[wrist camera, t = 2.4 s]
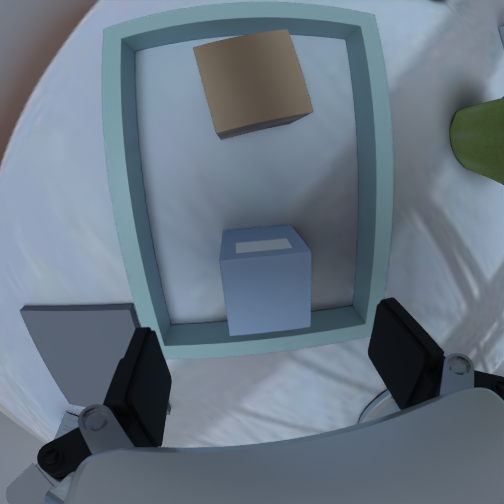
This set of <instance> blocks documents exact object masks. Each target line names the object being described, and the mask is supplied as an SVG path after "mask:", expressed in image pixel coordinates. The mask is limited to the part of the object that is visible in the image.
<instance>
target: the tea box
mask: <svg viewBox="0 0 504 504" xmlns="http://www.w3.org/2000/svg"><path fill="white" fill-rule="evenodd" d="M499 32H500V36H501V40H502V43H503V47H504V26H501V27H499Z"/></svg>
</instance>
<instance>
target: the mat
mask: <svg viewBox="0 0 504 504" xmlns="http://www.w3.org/2000/svg"><path fill="white" fill-rule="evenodd" d="M20 313H21V315H22V318H23V320H24V322H25V324H26V327H27V329H28V331H29V333H30V335H31V337H32V339H33V342H34V344H35V346H36V348H37V349H38V351H39V353H40V355H41V357H42V359H43V361H44V363H45V364H46V366H47V368H48V370H49V372H50V373H51V375H52V377H53V378H54V380H55V382H56V383H57V385H58V387H59V388H60V390H61V391H62V393H63V394H64V396H65V398H66V399H67V401H68V402H69V404H72V405H78V406H83V407H88V406H91V405H93V404H101V405H103V402H104V399H105V397H106V394H107V391H108V388H109V386H110V383H111V381H112V378H113V375H114V373H115V370H116V368H117V365H118V363H119V361H120V359H122V358H124V356H125V353H126V351H127V348H128V346H129V343H130V341H131V338H132V336H133V334H134V331H135V329H136V328H137V327H140V326H139V323H138V319H137V316H136V313H135V310H134V306H133V304H115V305H84V306H24V307H23V308H22V309H21V310H20ZM170 411H171V407H170V405H169V403H168V407H167V414H166V415H170Z"/></svg>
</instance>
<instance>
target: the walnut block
mask: <svg viewBox="0 0 504 504" xmlns="http://www.w3.org/2000/svg"><path fill="white" fill-rule="evenodd" d="M193 50H194V54H195V57H196V61H197V65H198V68H199V72H200V76H201V80H202V83H203V87H204V91H205V94H206V98H207V102H208V105H209V109H210V113H211V116H212V120H213V124H214V127H215V131H216V134H217V135H218V136H219V138H220V139H221V140H222V139H226V138H229V137H233V136H237V135H241V134H245V133H249V132H253V131H257V130H262V129H266V128H271V127H275V126H280V125H285V124H290V123H292V122H294V121H296V120H298V119H300V118H302V117H304V116H306V115H308V114H310V113H312V112H313V109H312V105H311V102H310V98H309V95H308V91H307V88H306V84H305V81H304V77H303V74H302V71H301V68H300V64H299V61H298V58H297V55H296V52H295V49H294V46H293V43H292V40H291V37H290V35H289V32H288V29H284V30H276V31H268V32H261V33H255V34H249V35H244V36H239V37H234V38H229V39H225V40H220V41H216V42H212V43H208V44H204V45H201V46H197V47H193Z"/></svg>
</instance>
